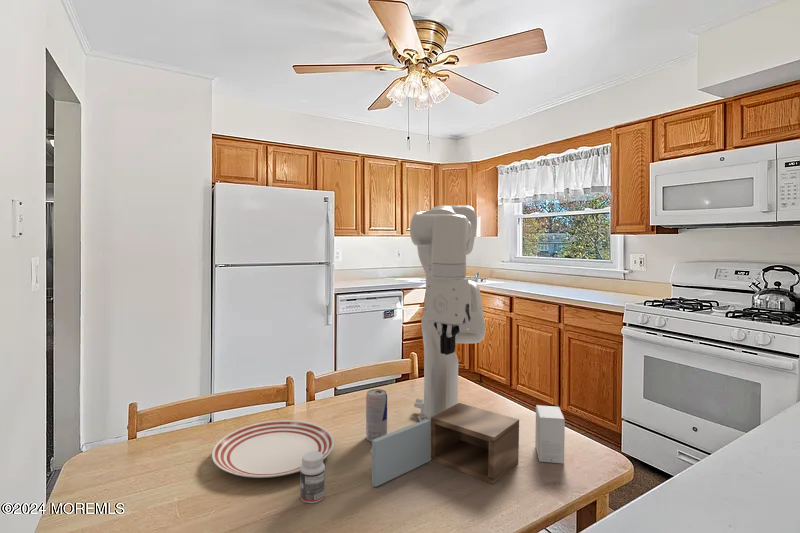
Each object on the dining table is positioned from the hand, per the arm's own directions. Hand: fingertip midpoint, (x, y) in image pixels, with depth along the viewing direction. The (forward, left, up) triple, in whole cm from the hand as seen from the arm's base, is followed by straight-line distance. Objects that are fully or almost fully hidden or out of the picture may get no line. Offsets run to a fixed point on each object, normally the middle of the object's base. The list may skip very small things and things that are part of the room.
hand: (447, 352), depth 97 cm
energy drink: (-21, -1, -26) cm, 33 cm away
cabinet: (+4, +5, -26) cm, 26 cm away
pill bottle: (-13, -28, -26) cm, 40 cm away
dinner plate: (-33, -23, -26) cm, 48 cm away
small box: (+16, +19, -26) cm, 36 cm away
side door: (-6, -9, -25) cm, 28 cm away
